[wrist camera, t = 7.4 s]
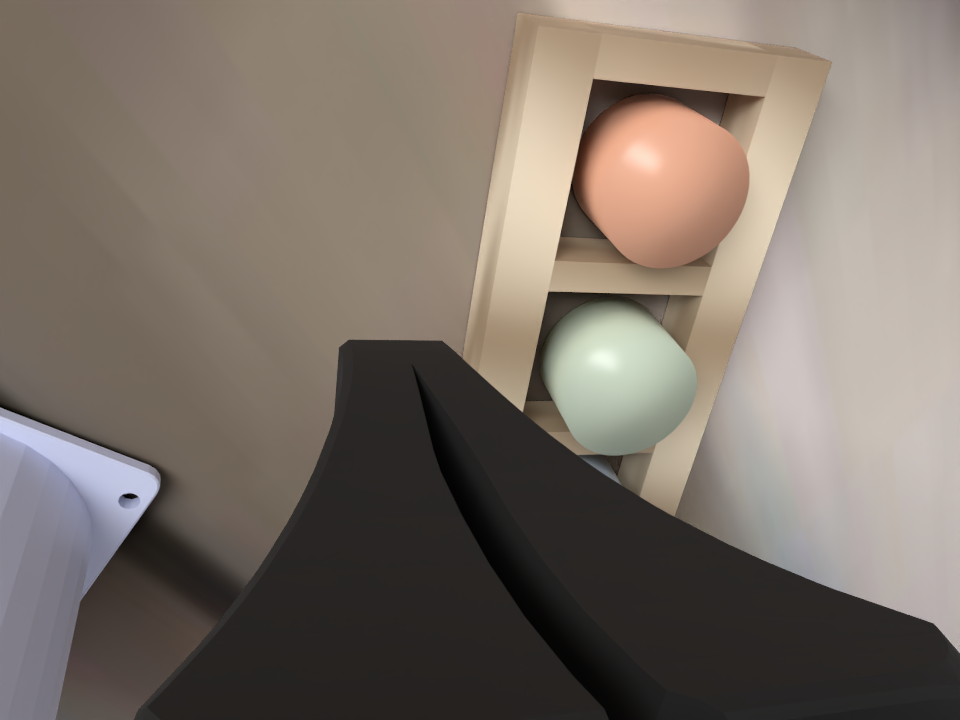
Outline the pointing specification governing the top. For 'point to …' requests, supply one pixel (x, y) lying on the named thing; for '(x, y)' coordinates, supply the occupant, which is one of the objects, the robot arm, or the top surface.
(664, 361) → the sage button
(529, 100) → the button panel
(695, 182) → the terracotta button
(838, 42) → the top surface
